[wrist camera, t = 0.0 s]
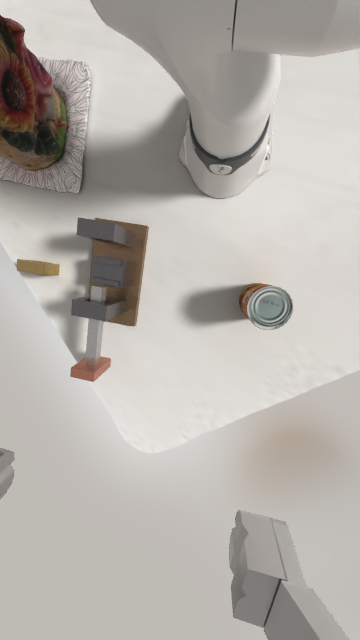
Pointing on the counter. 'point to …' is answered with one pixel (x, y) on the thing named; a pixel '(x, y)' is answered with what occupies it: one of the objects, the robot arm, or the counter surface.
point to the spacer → (37, 267)
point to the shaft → (93, 344)
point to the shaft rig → (114, 269)
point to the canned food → (266, 305)
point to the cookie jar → (41, 115)
